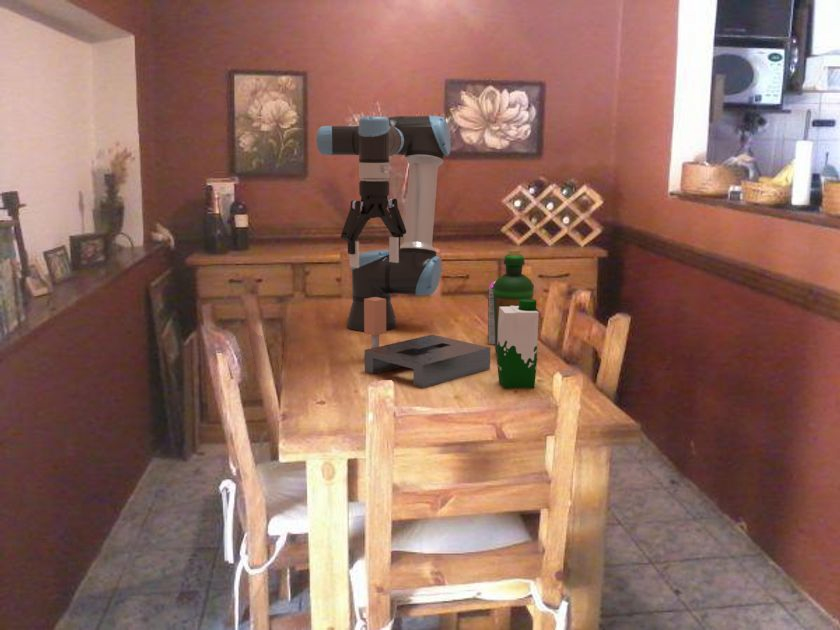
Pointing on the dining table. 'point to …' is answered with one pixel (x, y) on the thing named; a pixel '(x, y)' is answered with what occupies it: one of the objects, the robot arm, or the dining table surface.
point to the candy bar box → (491, 315)
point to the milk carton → (517, 344)
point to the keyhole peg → (375, 318)
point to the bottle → (511, 286)
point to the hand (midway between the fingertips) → (374, 264)
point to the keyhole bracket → (430, 359)
